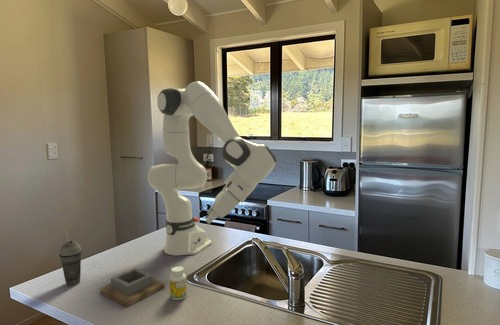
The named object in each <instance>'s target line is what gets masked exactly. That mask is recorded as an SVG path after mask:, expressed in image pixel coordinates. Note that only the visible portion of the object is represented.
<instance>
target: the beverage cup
mask: <svg viewBox="0 0 500 325" xmlns="http://www.w3.org/2000/svg"><path fill="white" fill-rule="evenodd" d="M64 232H65V238H66V242H65V243H63V244H62V245H61V247H60V249H59V251H58V253H59V254H58V257H59V258H60V261H61V266H62V272H63V277H64V281H65V286H66V287H75V286H78V285H79V284H80V283H81V274H82V273H81V272H82V268H81V265H82V264H81V262H82V252H83V250H82V247H81V245H80V244H79V243H78V242H76V241H72V240H71V241H70V238H69V236H68V230H67V229H65V230H64Z"/></svg>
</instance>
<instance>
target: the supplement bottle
mask: <svg viewBox="0 0 500 325" xmlns="http://www.w3.org/2000/svg"><path fill="white" fill-rule="evenodd" d="M170 270H171V272H170V273H171V274H170V276H169V292H170V293H169V294H170V296H169V297H170V298H171V299H172V300H174V301H180V300H184V299H185V298H186V297H187V295H188V293H187V292H188V290H187V274H186V273H185V269H184V267H183V266H174V267H172V268H171V269H170Z"/></svg>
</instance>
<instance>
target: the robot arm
mask: <svg viewBox="0 0 500 325" xmlns="http://www.w3.org/2000/svg"><path fill="white" fill-rule="evenodd" d="M157 107H158V109H159V112H160V113H162V114H163V121H162V139H163V140H162V141H163V142H162V144H163V146H162V147H163V150H164V151H165V153H166V154H168V155H170V156H171V157H173V158H175V159H176V160H177V162H178V163H162V164H157V165H153V166H151V167H150V168H149V170H148V172H147V178H146V179H147V181H148V184H149V185H150V186H151V188H153V189H154V190H156V192H158V193H159V195H160V196H161V198H162V200H163V202H164V206H165V213H166V219H165V229H166V237H165V238H166V239H165V245H164V249H163V252H164V253H165V254H166V255H169V256H185V255H187V256H188V255H190V256H191V255H192V256H193V255H196V254H198V253H199V252H201V251H203V250H204V249H205V248H207V247H209V246H210V245H212V244H213V242H212V240H211V239H209V238H208V237H207V232H206V231H205V229H203V228H201V227H199V226H197V225H196V224H195V223H199V221H200V219H199V217H193V212H192V202H191V200H190V199H189V198H188V197H187V196H184V195H182V194H180V193H179V191H178V189H179V190H182V189H183V190H184V189H187V190H188V189H189V190H191V189H192V190H193V189H198V188H201V187H203V186H205V184H206V183H207V180H208V172H207V169H206V168H205V166H204V165H203V164H201V163H200V162H199V161H197V159H196V158H195V156H194V154H193V153H192V149H191V144H190V143H191V142H190V127H189V121H190V118H191V117H193V118H195V119H196V120H197V121H198V122H199V123H200V124H201V125H202V126H203V127H205V128H206V129H208V130H209V131H210V132H211V133H213V134H214V135H216V137H218V138H219V139H220V140H221V141H222V142H223V143H224V144H223V145H222V149H221V155H222V158H223V159H224V161H225V162H226V163H227V164H228V165H230V166H231V167H232V168H234V171H232V173H231V174H230V175H229V176H228V177H227V178H226V179H225V180H224V182H223V183H224V184H225V186H223V189H222V190H221V191H220V192H219V193H217V195H216V196H215V198H214V202H213V204H212V205H211V206H210V208H209V209H208V210H207V212H206V213H207V217H206V218H205V222H206V223H207V224H211V223H212V222H213V221H214V220H215V219H217V218H220V219H223V218H224V217H225V216H227V215H228V214H229V213H230V212H231V211H232V210H234V209H235V208H236V207H237V206H238V205H239V204H240V203H243V202H245V200H246V199H247V198H248V197H249V195H251V193H252V192H253V191H254V190H255V189H256V187H257V186H258V184H260V183H261V182H263V181H264V180H265V179H266V178H267V176H269V174H270V173H271V172H272V171H273V169H274V168H275V167H276V165H277V157H276V156H275V155H274V153H273V152H272V151H271V149H270V148H269V146H268V145H266V144H263V143H262V144H258V143H253V142H251V141H248V140H246V139H244V138H242V137H241V136H240V134H239V133H238V132H237V130H236V129H235V127H234V125H233V123H232V121H231V120H230V118H229V116H228V114H227V112H226V110H225V107H224V105H223V104H222V102H221V101H220V99H219V98H218V97H217V95H216V94H215V93H214V91H213V90H211V88H210V87H208V85H206V84H205V83H204V82H202V81H198V80H197V81H193V82H191V83H189V84H188V85H187V86H185V87H183V88H172V87H171V88H170V87H169V88H164V89H161V91H160V92H159V94H158V95H157Z"/></svg>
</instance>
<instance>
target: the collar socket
mask: <svg viewBox="0 0 500 325" xmlns="http://www.w3.org/2000/svg"><path fill="white" fill-rule="evenodd" d="M162 289H165V283H163V282H161V281H159V280H156V279H154V276H153V274H151V273H149V272H147V271H144V270H141V269H139V268H137V267H134V268H132V269H129V270H127V271H125V272H122V273H120V274H117V275H114V276H113V277H110V284H107V285H105V286H103V287H101V288H100V289H99V293H100V294H102V295H103V296H105V297H107V298H109V299H111V300H112V301H115V302H116V303H118V304H120V305H122V306H124V307H125V308H127V307H130V306H131V305H133V304H135V303H137V302H139V301H141V300H143V299H145V298H147V297H150V295H153V294H155V293H156V292H158V291H161V290H162Z"/></svg>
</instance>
